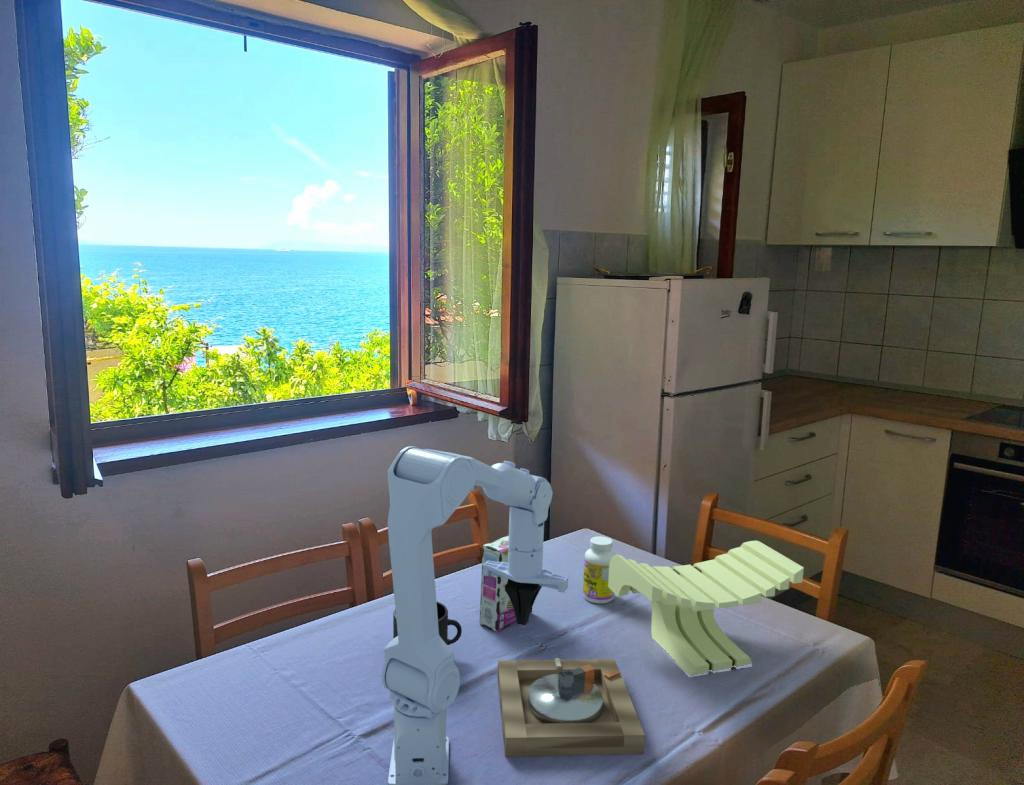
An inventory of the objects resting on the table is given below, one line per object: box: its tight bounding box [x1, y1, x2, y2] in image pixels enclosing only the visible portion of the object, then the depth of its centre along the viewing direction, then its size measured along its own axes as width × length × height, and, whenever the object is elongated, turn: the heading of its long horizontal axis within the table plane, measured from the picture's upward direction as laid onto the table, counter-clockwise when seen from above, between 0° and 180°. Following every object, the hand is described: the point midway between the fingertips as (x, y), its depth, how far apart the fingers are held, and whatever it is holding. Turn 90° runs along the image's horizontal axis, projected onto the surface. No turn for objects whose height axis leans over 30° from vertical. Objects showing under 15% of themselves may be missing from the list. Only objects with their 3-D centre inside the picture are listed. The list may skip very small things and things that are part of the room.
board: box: [496, 657, 646, 758], centre depth 111 cm, size 20×20×4 cm
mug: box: [392, 600, 463, 646], centre depth 124 cm, size 9×12×9 cm
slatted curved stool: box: [608, 540, 805, 676], centre depth 130 cm, size 30×16×18 cm, turn 108°
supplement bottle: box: [582, 536, 617, 605], centre depth 149 cm, size 7×7×13 cm
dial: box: [528, 664, 603, 724], centre depth 111 cm, size 12×12×5 cm
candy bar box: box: [479, 534, 533, 633], centre depth 139 cm, size 11×5×16 cm, turn 141°
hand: (522, 622), depth 119 cm, fingers closed
